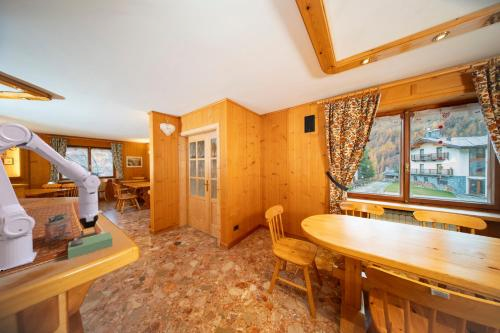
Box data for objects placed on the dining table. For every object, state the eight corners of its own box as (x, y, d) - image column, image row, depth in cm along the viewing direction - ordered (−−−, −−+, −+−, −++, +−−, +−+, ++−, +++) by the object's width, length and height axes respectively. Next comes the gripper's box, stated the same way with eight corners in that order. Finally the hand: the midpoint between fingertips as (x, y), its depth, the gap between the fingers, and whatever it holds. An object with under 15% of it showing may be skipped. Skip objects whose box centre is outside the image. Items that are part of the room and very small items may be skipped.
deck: (68, 259, 51) (67, 246, 51) (69, 245, 59) (69, 234, 59) (112, 245, 59) (112, 234, 59) (108, 235, 68) (107, 226, 68)
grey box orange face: (81, 246, 59) (80, 234, 59) (80, 240, 63) (80, 229, 63) (97, 241, 62) (97, 230, 62) (96, 236, 67) (95, 226, 67)
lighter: (50, 241, 63) (49, 217, 63) (42, 241, 63) (41, 217, 63) (73, 233, 71) (72, 211, 71) (66, 233, 71) (65, 211, 71)
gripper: (103, 203, 64) (104, 235, 64) (99, 198, 74) (100, 226, 74) (77, 207, 59) (79, 242, 59) (77, 201, 69) (78, 231, 69)
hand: (89, 234), depth 66 cm, fingers closed
